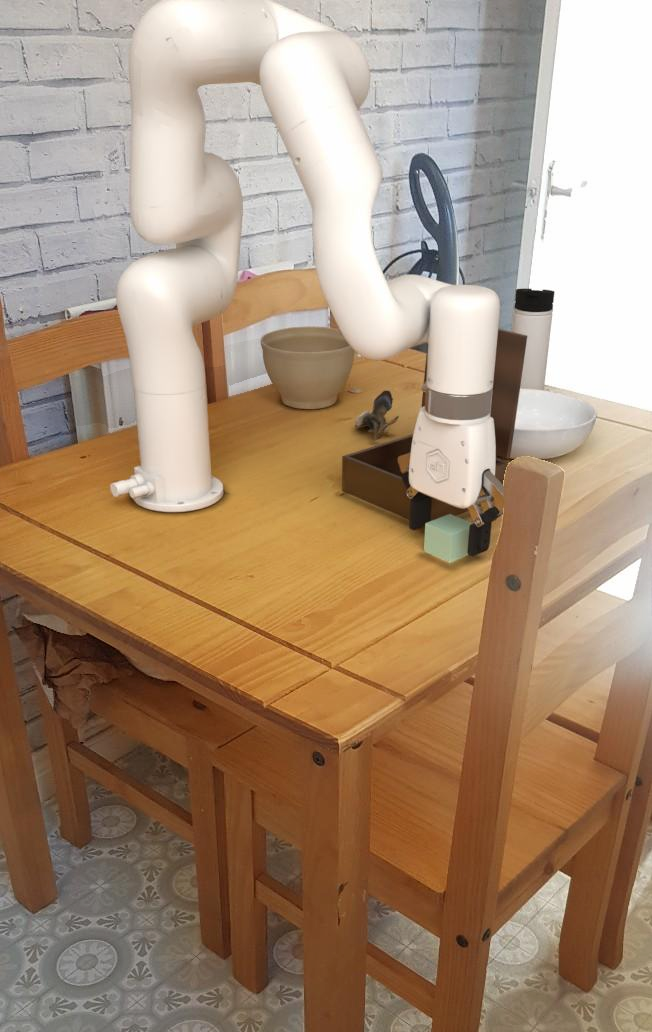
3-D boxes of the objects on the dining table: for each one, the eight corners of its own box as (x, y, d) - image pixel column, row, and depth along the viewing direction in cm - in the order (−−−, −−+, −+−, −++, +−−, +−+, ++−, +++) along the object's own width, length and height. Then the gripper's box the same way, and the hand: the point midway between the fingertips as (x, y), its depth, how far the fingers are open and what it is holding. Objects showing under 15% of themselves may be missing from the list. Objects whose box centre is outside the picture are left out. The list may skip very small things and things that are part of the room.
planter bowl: (244, 400, 181) (241, 336, 175) (315, 382, 189) (315, 321, 184) (301, 423, 170) (301, 356, 164) (374, 403, 179) (376, 339, 173)
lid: (523, 336, 131) (550, 331, 134) (430, 312, 142) (456, 309, 145) (506, 459, 139) (531, 452, 142) (419, 428, 150) (444, 422, 153)
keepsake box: (426, 532, 134) (428, 490, 131) (341, 495, 144) (342, 456, 141) (504, 501, 143) (508, 461, 140) (418, 468, 153) (420, 431, 150)
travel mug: (501, 413, 175) (513, 289, 164) (507, 401, 180) (518, 281, 169) (538, 416, 173) (552, 292, 162) (543, 404, 178) (557, 283, 168)
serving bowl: (620, 460, 156) (627, 416, 152) (507, 485, 147) (512, 438, 144) (534, 421, 171) (538, 379, 168) (427, 441, 163) (430, 398, 159)
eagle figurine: (411, 435, 162) (402, 407, 168) (388, 401, 157) (380, 374, 164) (369, 460, 164) (362, 431, 170) (346, 427, 160) (340, 399, 166)
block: (449, 567, 125) (451, 534, 123) (423, 555, 128) (425, 523, 126) (473, 557, 128) (476, 524, 125) (447, 545, 130) (449, 513, 128)
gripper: (381, 390, 121) (377, 525, 130) (494, 428, 110) (481, 572, 119) (426, 378, 125) (419, 510, 134) (539, 413, 114) (523, 554, 123)
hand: (448, 539), depth 127 cm, fingers open, 9 cm apart
